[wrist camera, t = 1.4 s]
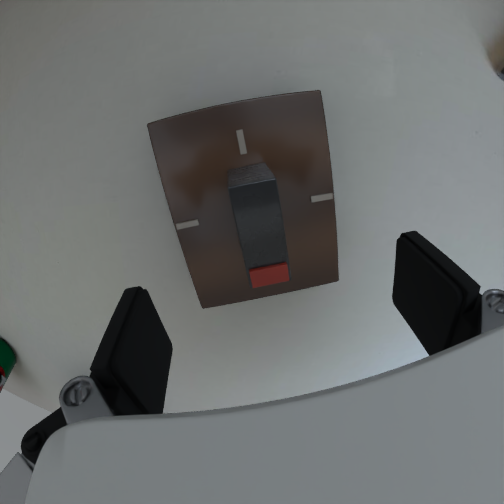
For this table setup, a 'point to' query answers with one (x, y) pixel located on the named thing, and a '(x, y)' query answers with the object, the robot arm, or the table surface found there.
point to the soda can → (6, 362)
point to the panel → (217, 197)
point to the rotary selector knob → (259, 224)
